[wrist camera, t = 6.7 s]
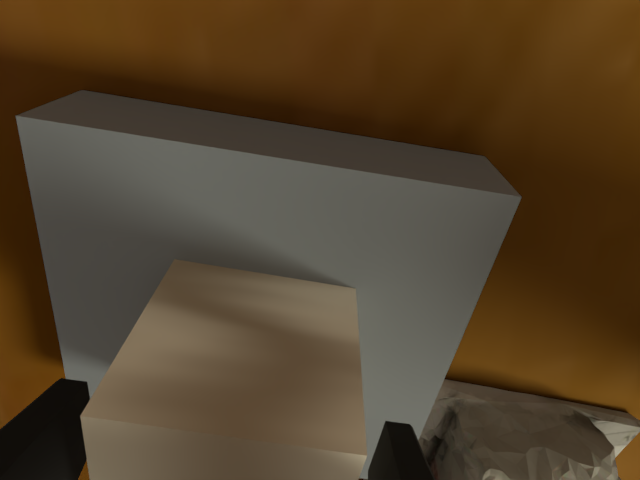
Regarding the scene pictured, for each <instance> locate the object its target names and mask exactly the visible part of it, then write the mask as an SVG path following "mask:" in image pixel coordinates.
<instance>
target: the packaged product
mask: <svg viewBox="0 0 640 480" xmlns="http://www.w3.org/2000/svg"><path fill="white" fill-rule="evenodd" d="M639 432H640V421H639V420H638V419H636V418H635V417H633V416H632V415H630V414H629V413H625V412H620V411H615V410H610V409H605V408H600V407H595V406H589V405H584V404H579V403H574V402H568V401H563V400H558V399H553V398H548V397H542V396H537V395H532V394H525V393H518V392H511V391H506V390H501V389H496V388H492V387H487V386H481V385H475V384H470V383H464V382H458V381H453V380H447V379H444V381H443V383H442V386H441V388H440V390H439V393H438V395H437V397H436V400H435V402H434V405H433V407H432V409H431V412H430V414H429V416H428V419H427V421H426V423H425V426H424V428H423V430H422V433H421V435H420V437H419V440H418V441H419V444H420V446H421V448H422V451H423V453H424V455H425V457H426V460H427V462H428V464H429V466H430V469H431V471H432V473H433V475H434V477H435V479H436V480H621V479H620V478H619V477H618V472H617V466H616V462H615V457H616V456H617V455H618V454H619V453H620V452H621V451H622V450H623V449H624V448H625V447H626V445H627V444H628V443H629V442H630V441H631V440H632V439H633V438H634V437H635V436H636V435H637V434H638V433H639ZM364 480H368V479H364Z"/></svg>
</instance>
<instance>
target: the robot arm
mask: <svg viewBox="0 0 640 480" xmlns="http://www.w3.org/2000/svg"><path fill="white" fill-rule="evenodd" d="M89 401H90V396H89V389H88V383H87V382H86V381H78V380H71V379H63V378H61V379H59V380H58V381H56V382H55V383H54V384H53V385H52V386H51V387H49V388H48V389H47V390H46V391H45V392H44V393H42V394H41V395H40V396H39V397H38V398H37V399H35V400H34V401H33V402H32V403H31V404H30V405H28V406H27V407H26V408H25V409H24V410H23V411H21V412H20V413H19V414H18V415H17V416H16V417H14V418H13V419H12V420H11V421H10V422H8V423H7V424H6V425H5V426H4V427H2V428H1V429H0V480H78V478H79V475H80V473H81V471H82V469H83V466H84V464H85V462H86V459H87V458H86V451H85V444H84V438H83V431H82V425H81V418H80V415H81V414H82V412H83V410H84V409H85V407H86V405H87V404H88V402H89ZM368 480H436V479H435V477H434V475H433V473H432V471H431V469H430V466H429V464H428V462H427V460H426V457H425V455H424V453H423V451H422V448H421V446H420V444H419V441H418V439H417V437H416V434H415V432H414V429H413V427H412V426H411V425H410V424H406V423H398V422H390V421H385V424H384V427H383V429H382V432H381V435H380V438H379V441H378V443H377V446H376V449H375V452H374V455H373V458H372V460H371V463H370V466H369V469H368Z"/></svg>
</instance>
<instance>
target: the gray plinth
mask: <svg viewBox="0 0 640 480" xmlns="http://www.w3.org/2000/svg"><path fill="white" fill-rule="evenodd" d="M16 121H17V126H18V131H19V136H20V142H21V147H22V152H23V157H24V162H25V168H26V173H27V178H28V183H29V188H30V194H31V199H32V204H33V209H34V214H35V220H36V225H37V230H38V235H39V240H40V246H41V251H42V256H43V261H44V266H45V272H46V277H47V282H48V287H49V293H50V298H51V303H52V308H53V313H54V319H55V324H56V329H57V334H58V339H59V345H60V350H61V355H62V360H63V365H64V371H65V376H66V379H71V380H78V381H86V382H87V383H88V389H89V396H90V399H91V397H92V396H93V394H94V392H95V391H96V389H97V387H98V386H99V384H100V382H101V381H102V379H103V377H104V376H105V374H106V372H107V371H108V369H109V367H110V366H111V364H112V362H113V361H114V359H115V357H116V356H117V354H118V352H119V351H120V349H121V347H122V346H123V344H124V342H125V341H126V339H127V337H128V336H129V334H130V332H131V331H132V329H133V327H134V326H135V324H136V322H137V321H138V319H139V317H140V316H141V314H142V312H143V311H144V309H145V307H146V306H147V304H148V302H149V301H150V299H151V297H152V296H153V294H154V292H155V291H156V289H157V287H158V286H159V284H160V282H161V281H162V279H163V277H164V276H165V274H166V272H167V271H168V269H169V267H170V266H171V264H172V262H173V261H174V259H176V260H183V261H189V262H195V263H201V264H207V265H214V266H220V267H226V268H232V269H238V270H244V271H251V272H257V273H263V274H269V275H275V276H282V277H288V278H294V279H300V280H306V281H313V282H319V283H325V284H331V285H337V286H343V287H350V288H356V300H357V314H358V329H359V344H360V358H361V373H362V387H363V402H364V416H365V431H366V446H367V458H366V460H365V463H364V466H363V468H362V471H361V474H360V476H359V478H362V479H368V469H369V466H370V463H371V460H372V458H373V455H374V452H375V449H376V446H377V443H378V441H379V438H380V435H381V432H382V429H383V427H384V424H385V421H390V422H398V423H406V424H410V425H411V426H412V427H413V429H414V432H415V434H416V437H417V439H418V440H419V437H420V435H421V433H422V430H423V428H424V426H425V423H426V421H427V419H428V416H429V414H430V412H431V409H432V407H433V405H434V402H435V400H436V397H437V395H438V393H439V390H440V388H441V386H442V383H443V381H444V379H445V376H446V374H447V372H448V369H449V367H450V365H451V362H452V360H453V358H454V355H455V353H456V350H457V348H458V346H459V343H460V341H461V339H462V336H463V334H464V332H465V329H466V327H467V325H468V322H469V320H470V318H471V315H472V313H473V311H474V308H475V306H476V303H477V301H478V299H479V296H480V294H481V292H482V289H483V287H484V285H485V282H486V280H487V278H488V275H489V273H490V271H491V268H492V266H493V264H494V261H495V259H496V257H497V254H498V252H499V249H500V247H501V245H502V242H503V240H504V238H505V235H506V233H507V231H508V228H509V226H510V224H511V221H512V219H513V217H514V214H515V212H516V210H517V207H518V205H519V202H520V200H521V198H522V197H521V195H520V194H519V193H518V192H517V191H516V190H515V189H514V188H513V187H512V186H511V184H510V183H509V182H508V181H507V180H506V179H505V178H504V177H503V176H502V175H501V173H500V172H499V171H498V170H497V169H496V168H495V167H494V166H493V165H492V164H491V162H490V161H489V160H488V159H487V158H486V157H485V156H480V155H474V154H468V153H462V152H456V151H450V150H444V149H438V148H432V147H426V146H420V145H414V144H408V143H402V142H395V141H389V140H383V139H377V138H371V137H365V136H359V135H353V134H347V133H341V132H335V131H329V130H323V129H317V128H310V127H304V126H298V125H292V124H286V123H280V122H274V121H268V120H262V119H256V118H250V117H244V116H238V115H232V114H226V113H219V112H213V111H207V110H201V109H195V108H189V107H183V106H177V105H171V104H165V103H159V102H153V101H147V100H141V99H134V98H128V97H122V96H116V95H110V94H104V93H98V92H92V91H86V90H80V91H78V92H75V93H73V94H70V95H67V96H65V97H62V98H60V99H57V100H55V101H52V102H49V103H47V104H44V105H42V106H39V107H37V108H34V109H31V110H29V111H26V112H24V113H21V114H18V115H16Z"/></svg>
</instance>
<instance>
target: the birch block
mask: <svg viewBox="0 0 640 480" xmlns="http://www.w3.org/2000/svg"><path fill="white" fill-rule="evenodd" d="M80 418H81V425H82V431H83V438H84V444H85V451H86V458H87V464H88V471H89V477H90V480H358V479H359V476H360V474H361V471H362V468H363V466H364V463H365V460H366V458H367V446H366V431H365V416H364V402H363V387H362V373H361V358H360V344H359V329H358V314H357V300H356V288H350V287H343V286H337V285H331V284H325V283H319V282H313V281H306V280H300V279H294V278H288V277H282V276H275V275H269V274H263V273H257V272H251V271H244V270H238V269H232V268H226V267H220V266H214V265H207V264H201V263H195V262H189V261H183V260H176V259H174V261H173V262H172V264H171V266H170V267H169V269H168V271H167V272H166V274H165V276H164V277H163V279H162V281H161V282H160V284H159V286H158V287H157V289H156V291H155V292H154V294H153V296H152V297H151V299H150V301H149V302H148V304H147V306H146V307H145V309H144V311H143V312H142V314H141V316H140V317H139V319H138V321H137V322H136V324H135V326H134V327H133V329H132V331H131V332H130V334H129V336H128V337H127V339H126V341H125V342H124V344H123V346H122V347H121V349H120V351H119V352H118V354H117V356H116V357H115V359H114V361H113V362H112V364H111V366H110V367H109V369H108V371H107V372H106V374H105V376H104V377H103V379H102V381H101V382H100V384H99V386H98V387H97V389H96V391H95V392H94V394H93V396H92V397H91V399H90V401H89V402H88V404H87V405H86V407H85V409H84V410H83V412H82V414H81V415H80Z"/></svg>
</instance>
